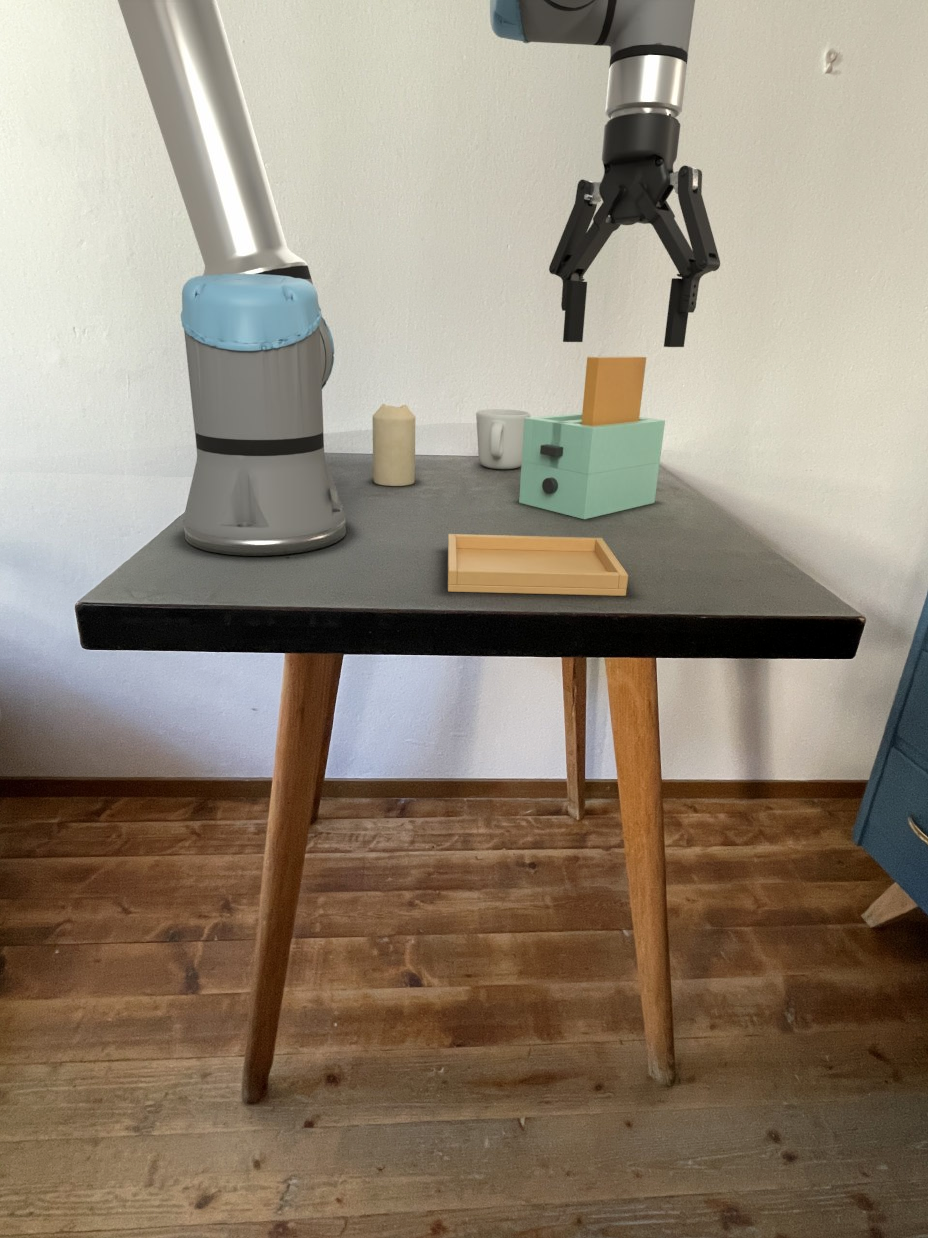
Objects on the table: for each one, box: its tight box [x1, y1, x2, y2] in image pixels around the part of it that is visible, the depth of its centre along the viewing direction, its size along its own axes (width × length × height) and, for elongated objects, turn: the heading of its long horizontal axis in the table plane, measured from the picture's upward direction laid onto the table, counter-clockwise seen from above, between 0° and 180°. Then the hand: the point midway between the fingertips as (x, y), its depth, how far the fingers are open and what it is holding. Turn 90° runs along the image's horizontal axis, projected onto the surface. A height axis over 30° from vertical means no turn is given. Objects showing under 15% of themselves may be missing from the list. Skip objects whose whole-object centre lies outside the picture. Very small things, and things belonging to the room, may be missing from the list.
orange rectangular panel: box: [581, 356, 647, 426], centre depth 85 cm, size 2×9×12 cm, turn 133°
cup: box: [475, 408, 532, 470], centre depth 108 cm, size 11×8×8 cm
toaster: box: [518, 412, 666, 520], centre depth 88 cm, size 10×15×10 cm, turn 133°
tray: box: [447, 533, 629, 597], centre depth 64 cm, size 14×11×2 cm
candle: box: [372, 403, 416, 487], centre depth 96 cm, size 6×6×10 cm
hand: (620, 344), depth 82 cm, fingers open, 13 cm apart
